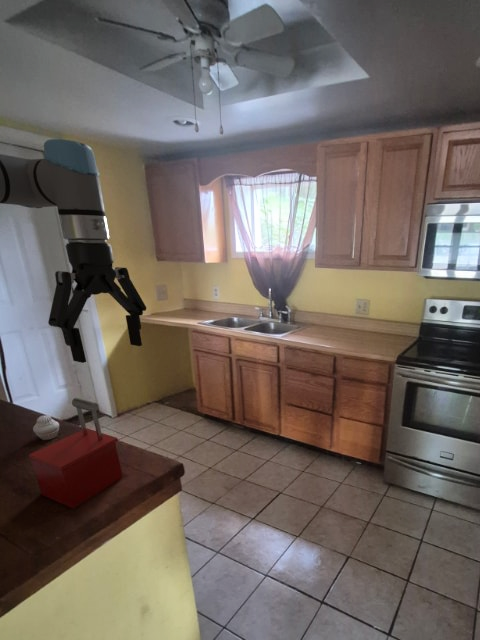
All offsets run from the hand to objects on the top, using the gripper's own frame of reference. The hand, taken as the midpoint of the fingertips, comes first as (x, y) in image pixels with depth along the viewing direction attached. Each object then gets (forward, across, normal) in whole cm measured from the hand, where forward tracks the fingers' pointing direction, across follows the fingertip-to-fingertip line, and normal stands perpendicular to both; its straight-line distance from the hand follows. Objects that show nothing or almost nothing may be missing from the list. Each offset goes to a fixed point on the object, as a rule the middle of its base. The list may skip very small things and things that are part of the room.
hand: (110, 352), depth 77 cm
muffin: (+30, +2, +35) cm, 46 cm away
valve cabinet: (+30, -9, +6) cm, 32 cm away
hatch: (+20, -8, +6) cm, 23 cm away
